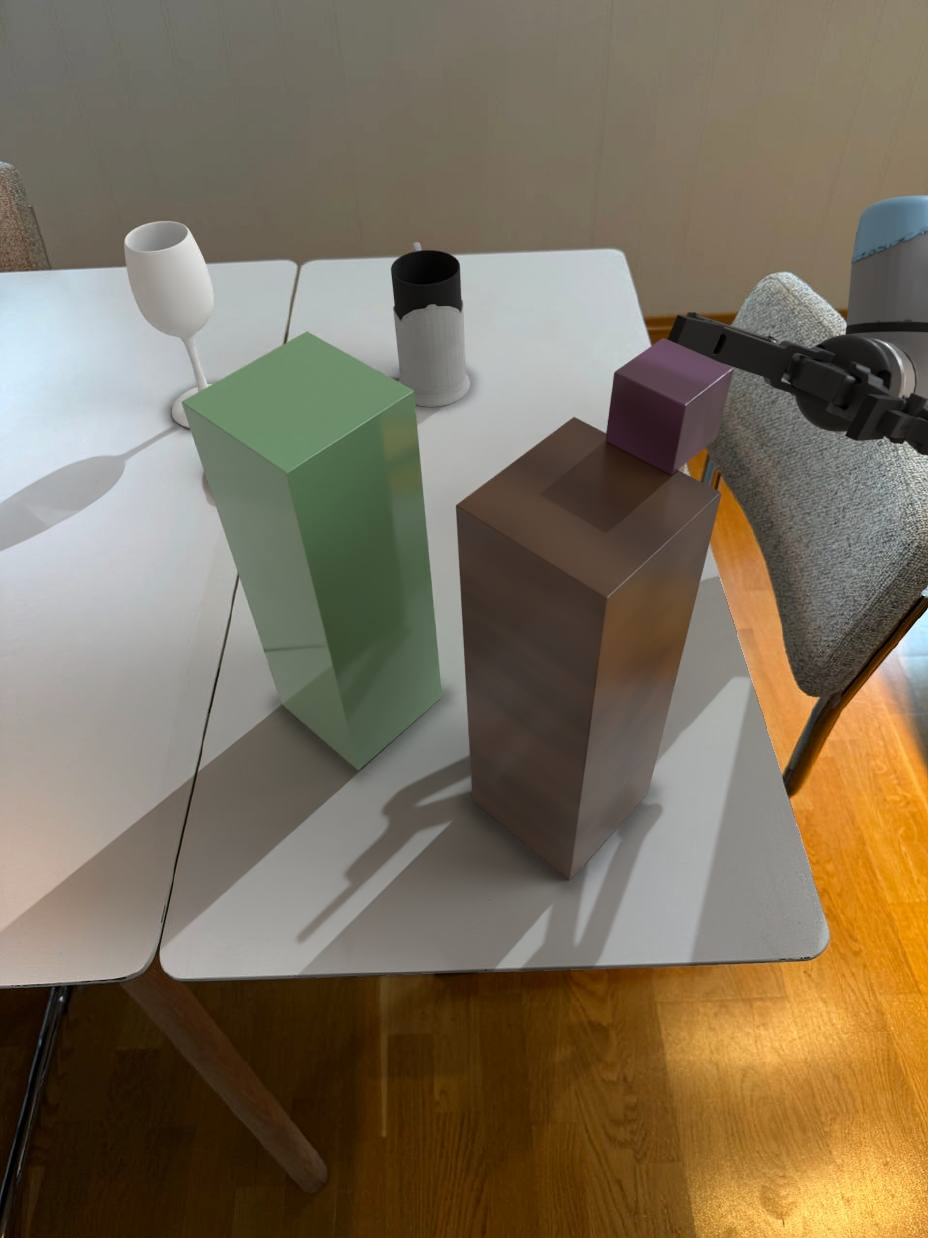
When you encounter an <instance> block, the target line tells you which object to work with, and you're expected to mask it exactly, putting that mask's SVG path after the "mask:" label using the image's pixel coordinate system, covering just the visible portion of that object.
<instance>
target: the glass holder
mask: <svg viewBox="0 0 928 1238" xmlns="http://www.w3.org/2000/svg"><path fill="white" fill-rule="evenodd" d="M390 274H391V275H390V276H391V284H392V285H391V286H392V293H393V295H392V296H393V304H394V306H392V310H393V319H394V320H393V321H394V328H395V329H394V330H395V338H396V348H397V349H396V350H397V358H398V367H399V378H398V382H399V383H401V384H403V385H405V386H407V387H408V388H410V389H412V390H414V396H415V406H418V407H419V406H420V407H424V408H425V407H427V408H435V407H445V406H448V405H450V404H453V403H455V402H459V400H461V399H463V398H464V397H465V396H466V395H467V394H468V392H469V390H470V387H471V380H470V378H469V375H468V373H467V370H466V369H467V367H466V341H465V340H466V339H465V319H464V316H465V315H464V301H463V299H462V280H461V264H460V261H459V259H458V258H456V257H455V256H454V255H453V254H450V253H449V252H445V251H443V250H442V251H441V250H436V249H424V250H423V249H422V245H421V243H420V242H419V241H415V242H413V243H412V252H408V253H405V254H403V255H401V256H399V257H398V258H396V260H394V261H393V263H392V264H391V266H390Z"/></svg>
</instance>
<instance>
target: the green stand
mask: <svg viewBox="0 0 928 1238" xmlns="http://www.w3.org/2000/svg"><path fill="white" fill-rule="evenodd" d="M398 381H399V380H398ZM398 381H397V380H396V379H394V378H392V377H391V376H389V375H387V374H385V373H383V372H381V371H380V370H378V369H376V368H374V367H373V366H370V365H369V364H367V363H365V362H364V361H362V360H360V359H358V358H356V357H354V356H353V355H351V354H349V353H347V352H345V351H343V350H341V349H340V348H338V347H336V346H334V345H333V344H331V343H329V342H328V341H326V340H324V339H322V338H320V337H318V336H317V335H314V334H313V333H311V332H310V331H305V332H303V333H302V334H299V335H298V336H296V337H294V338H292V339H291V340H289V341H287V342H285V343H283V344H282V345H280V346H278V347H276V348H274V349H273V350H271V351H269V352H267V353H265V354H263V355H262V356H260V357H258V358H257V359H254V360H253V361H251V362H249V363H248V364H246V365H244V366H242V367H241V368H238V369H237V370H236V371H233V372H232V373H230V374H228V375H226V376H224V377H223V378H221V379H219V380H218V381H215V382H214V383H211V384H212V385H210V386H209V387H207V388H205V389H203V390H201V391H200V392H198V393H196V394H194V395H192V396H191V397H189V398H187V399H185V400H184V401H182V402H181V403H182V406H183V409H184V412H185V415H186V418H187V421H188V424H189V427H190V428H189V430H190V433H191V437H192V439H193V442H194V444H195V445H194V446H195V447H196V451H197V454H198V457H199V460H200V462H201V465H202V468H203V472H204V476H205V478H206V481H207V483H208V487H209V490H210V493H211V496H212V499H213V502H214V505H215V508H216V511H217V514H218V517H219V520H220V523H221V526H222V529H223V532H224V535H225V538H226V542H227V544H228V547H229V550H230V552H231V556H232V560H233V563H234V565H235V569H236V571H237V574H238V577H239V580H240V583H241V586H242V590H243V592H244V595H245V598H246V601H247V604H248V607H249V610H250V614H251V617H252V618H253V623H254V625H255V628H256V631H257V634H258V637H259V641H260V643H261V645H262V650H263V652H264V655H265V659H266V661H267V664H268V667H269V670H270V673H271V676H272V681H273V682H274V686H275V689H276V692H277V695H278V698H279V701H280V705H282V706H283V707H284V708H285V709H286V710H287V711H288V712H290V714H292V715H293V716H295V718H296V719H298V720H299V721H300V722H301V723H302V724H304V725H305V726H306V727H307V728H308V729H309V730H310V731H312V732H313V733H314V734H315V735H316V736H317V737H319V739H321V740H322V742H324V743H325V744H327V745H328V746H329V747H330V748H332V750H333V751H335V752H336V753H337V754H338V755H339V756H340V757H342V758H343V759H344V761H346V762H347V763H348V764H349V765H351V767H353V768H354V769H356V771H360V770H361V769H362V768H364V767H365V766H366V765H367V764H368V763H369V762H370V761H372V760H373V759H374V758H375V757H376V756H378V754H379V753H380V752H381V751H383V750H384V749H385V748H386V747H387V746H388V745H390V744H391V743H392V742H394V740H395V739H396V738H397V737H399V736H400V735H401V734H402V733H403V732H404V731H406V729H408V728H409V727H410V726H411V725H413V723H414V722H416V721H417V720H418V719H419V718H420V717H421V716H422V715H423V714H425V713H426V712H427V711H428V710H429V709H431V708H432V707H433V706H434V705H435V704H436V703H438V702H439V700H441V699H442V698H443V690H442V689H443V688H442V678H441V668H440V659H439V649H438V648H439V646H438V636H437V625H436V614H435V602H434V593H433V582H432V581H433V580H432V572H431V571H432V570H431V560H430V559H431V558H430V548H429V538H428V527H427V517H426V516H427V515H426V505H425V495H424V484H423V473H422V464H421V463H422V461H421V452H420V441H419V440H420V439H419V430H418V419H417V409H416V405H415V396H414V390H412V389H410V388H408V387H407V386H405V385H403V384H401V383H399V382H398Z"/></svg>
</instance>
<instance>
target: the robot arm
mask: <svg viewBox="0 0 928 1238" xmlns="http://www.w3.org/2000/svg"><path fill="white" fill-rule="evenodd" d="M850 265H851V269H850V281H849V292H848V302H847V303H848V304H847V314H846V326H845V333H844V334H839V335H835V336H832V337H829V338H827V339H825V340H822V341H821V342H820V343H818V344H816V346H812V347H807V346H805V345H802V344H798V343H795V342H793V341H790V340H782V341H781V342H780V343H779V340H778V339H777V338H776V337H775V336H772V335H767V336H766V335H764V334H759V333H755V332H752V331H749V330H746V329H742V328H740V327H737V326H735V325H734V326H733V325H730V324H727V323H724V322H721V321H717V320H715V319H711V318H709V317H705V316H702V315H700V313H698V312H696V311H692V312H691V311H687V312H686V315H681V314H676V317H675V320H674V322H673V324H672V327H671V330H670V332H669V334H668V337H667V340H669V341H672V342H674V343H676V344H679V345H681V346H683V347H685V348H688V349H690V350H692V351H695V352H697V353H699V354H701V355H704V356H706V357H708V358H711V359H713V360H715V361H717V362H720V363H722V364H724V365H727V366H729V367H731V368H735V369H738V370H740V371H743V372H747V373H750V374H753V375H756V376H760V377H762V378H763V381H764V383H766V384H767V385H769V386H771V387H772V388H773V389H775V390H776V389H777V390H780V391H783V392H786V393H789V394H790V395H791V396H793V397H794V398H795V402H796V406H797V407H798V410H799V411H800V413H801V415H802V416H803V417H804V418H805V419H806V420H807V421H808V422H809V423H811V424H812V425H813V426H815V427H816V428H818V429H821V430H824V431H828V432H833V433H835V434H836V435H844V437H846V438H848V439H851V440H852V441H855V442H860V441H862V442H863V441H875V440H877V441H878V440H883V439H884V438H886V439H887V440H889V442H890V443H892V444H894V445H897V444H899V445H904V443H905V442H906V443H907V444H908V445H909V446H910V447H911V448H912V449H913V450H915V451H916V453H917V454H920V456H921V455H922V456H926V457H927V456H928V195H906V196H897V197H892V198H891V197H890V198H887V199H882V200H879V201H877V202H874V203H873V204H871V205H869V206H868V207H867V208H865V209H864V210H863V212H862V213H861V215H860V217H859V220H858V225H857V230H856V232H855V239H854V247H853V252H852V257H851V258H850ZM782 379H784V380H785V381H786V382H785V381H782Z"/></svg>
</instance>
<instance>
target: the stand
mask: <svg viewBox="0 0 928 1238" xmlns="http://www.w3.org/2000/svg"><path fill="white" fill-rule="evenodd" d="M605 439H606V431H605V432H604V431H603V430H600V429H599V428H596V427H595V426H593V425H591V424H589V423H587V422H585V421H584V420H581V419H579V418H577V417H576V416H573V417H571V418H570V419H569V420H568V421H567V422H565V423H564V424H562V425H561V426H560V427H558V428H557V429H556V430H554V431H553V432H551V433H550V434H549V435H548V436H546V437H545V438H544V439H542V440H541V441H540V442H538V443H537V444H535V445H534V446H533V447H531V448H530V449H528V450H527V451H526V452H525V453H524V454H522V455H521V456H520V457H518V458H517V459H515V460H514V461H513V462H511V463H510V464H509V465H507V466H506V467H505V468H504V469H502V470H501V471H499V472H498V473H497V474H495V475H494V476H493V477H491V478H490V479H489V480H488V481H486V482H485V483H483V484H482V485H481V486H480V487H478V488H477V489H475V490H474V491H473V492H471V493H470V494H469V495H467V496H466V497H465V498H463V499H462V500H461V501H459V502H458V503H457V504H456V505H455V513H456V514H455V516H456V534H457V550H458V551H457V552H458V553H457V554H458V568H459V569H458V570H459V587H460V588H459V589H460V605H461V623H462V625H461V626H462V641H463V642H462V643H463V659H464V660H463V661H464V675H465V676H464V677H465V678H464V679H465V694H466V712H467V729H468V730H467V731H468V745H469V746H468V747H469V749H468V750H469V765H470V767H469V768H470V782H471V784H470V785H471V799H472V802H473V803H474V804H475V805H477V806H478V807H479V808H480V809H482V811H484V812H485V813H487V815H489V816H490V817H491V818H492V819H493V820H495V821H496V822H497V823H498V824H500V825H501V826H502V827H504V828H505V830H507V831H508V832H509V833H511V834H512V835H513V836H515V838H517V839H518V840H519V841H521V843H523V844H524V845H525V846H527V847H528V848H529V849H530V850H532V852H534V853H535V854H536V855H538V856H539V857H540V858H541V859H542V860H544V861H545V863H547V864H548V865H550V866H551V867H552V868H553V869H555V870H556V871H557V872H558V873H560V875H562V876H563V877H564V878H566V879H567V880H568V881H571V880H572V879H573V878H574V877H575V876H576V874H578V872H579V871H580V870H581V869H582V868H583V867H584V865H586V864H587V862H588V861H589V860H590V859H591V858H592V856H594V854H596V852H597V851H598V850H599V849H600V848H601V847H602V846H603V844H605V842H606V841H607V840H608V839H609V838H610V837H611V835H612V834H613V833H614V832H615V831H616V830H617V829H618V828H619V827H620V826H621V824H622V823H623V822H624V821H625V820H626V819H627V817H629V815H631V813H632V812H633V811H634V810H635V808H636V807H637V806H638V805H639V804H640V803H641V802H642V801H643V800H644V798H646V796H647V795H648V794H649V791H650V787H651V783H652V779H653V774H654V771H655V767H656V763H657V759H658V754H659V751H660V746H661V742H662V739H663V734H664V730H665V727H666V722H667V719H668V718H667V717H668V714H669V710H670V705H671V702H672V698H673V694H674V689H675V685H676V682H677V677H678V673H679V669H680V666H681V661H682V656H683V654H684V650H685V649H684V648H685V645H686V641H687V637H688V632H689V628H690V624H691V621H692V617H693V612H694V608H695V604H696V600H697V596H698V591H699V587H700V584H701V579H702V575H703V572H704V567H705V563H706V559H707V555H708V551H709V546H710V544H711V540H712V534H713V531H714V527H715V523H716V518H717V514H718V512H719V511H718V510H719V506H720V502H721V498H722V494H723V493H722V492H721V491H719V490H718V489H716V488H714V487H712V486H710V485H708V484H706V483H704V482H702V481H700V480H699V479H696V478H695V477H692V476H691V475H689V474H686V473H684V472H681V471H679V470H677V471H676V472H675V473H674V474H672V475H670V474H668V473H666V472H664V471H662V470H660V469H658V468H657V467H655V466H653V465H651V464H649V463H647V462H645V461H643V460H641V459H639V458H637V457H635V456H633V455H631V454H630V453H628V452H626V451H624V450H622V449H620V448H618V447H616V446H614V445H612V444H610V443H608V442H606V440H605Z"/></svg>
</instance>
